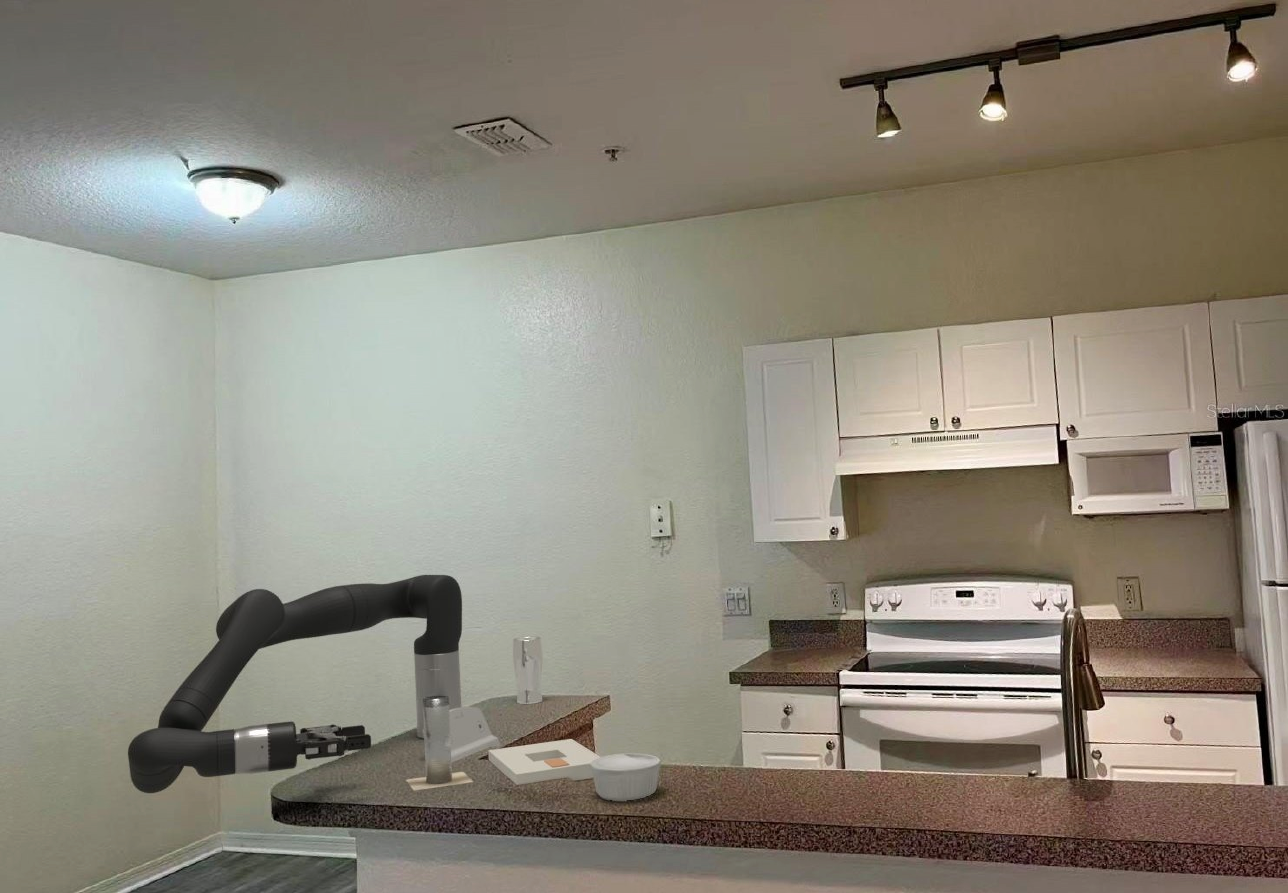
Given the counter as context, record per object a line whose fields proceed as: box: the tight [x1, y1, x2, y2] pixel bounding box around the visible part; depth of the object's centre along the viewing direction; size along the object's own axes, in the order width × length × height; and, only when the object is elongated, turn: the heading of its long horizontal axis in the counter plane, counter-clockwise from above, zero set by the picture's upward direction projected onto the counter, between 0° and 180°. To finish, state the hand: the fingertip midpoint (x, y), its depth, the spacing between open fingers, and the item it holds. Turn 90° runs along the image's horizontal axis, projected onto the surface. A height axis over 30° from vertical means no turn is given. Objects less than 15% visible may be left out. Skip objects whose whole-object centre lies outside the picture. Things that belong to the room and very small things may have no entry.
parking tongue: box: [405, 771, 474, 792], centre depth 185 cm, size 8×10×1 cm
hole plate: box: [487, 738, 601, 786], centre depth 192 cm, size 20×16×3 cm
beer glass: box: [512, 636, 543, 705], centre depth 258 cm, size 7×7×15 cm
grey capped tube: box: [423, 696, 453, 784], centre depth 185 cm, size 4×4×14 cm
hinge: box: [423, 706, 501, 763], centre depth 206 cm, size 17×5×10 cm, turn 155°
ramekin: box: [590, 752, 662, 802], centre depth 174 cm, size 11×11×5 cm
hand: (367, 736), depth 181 cm, fingers open, 8 cm apart
